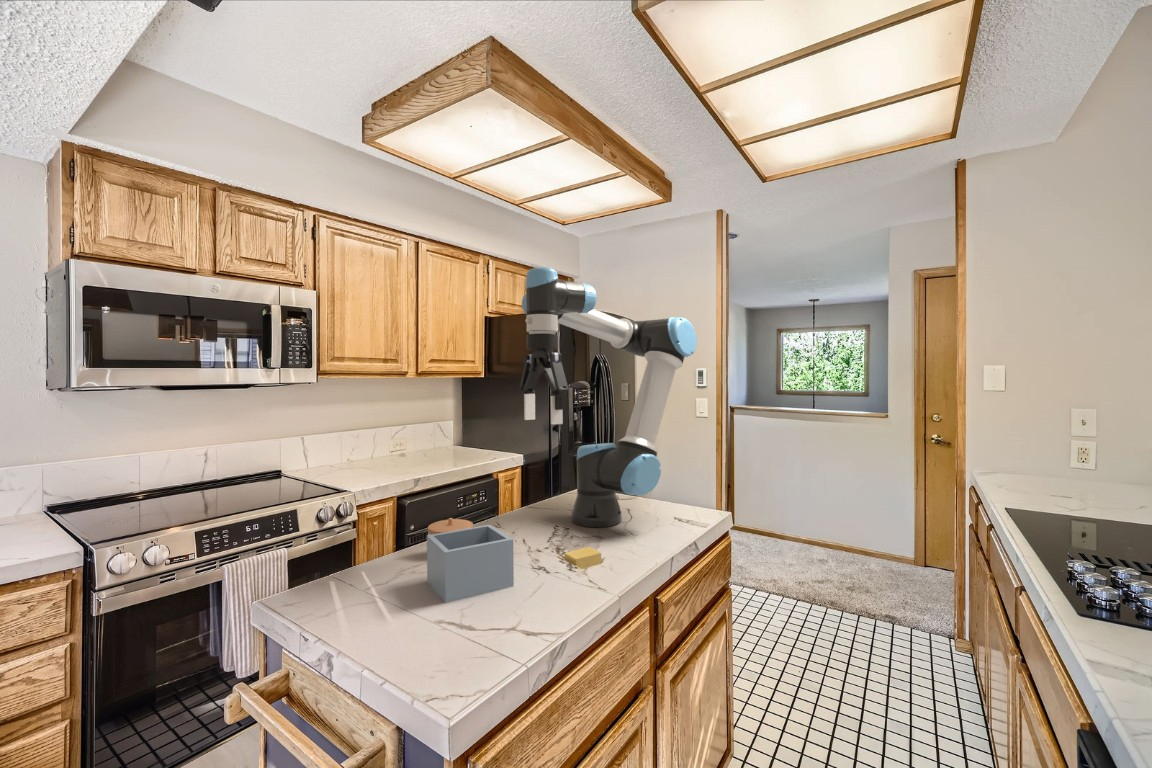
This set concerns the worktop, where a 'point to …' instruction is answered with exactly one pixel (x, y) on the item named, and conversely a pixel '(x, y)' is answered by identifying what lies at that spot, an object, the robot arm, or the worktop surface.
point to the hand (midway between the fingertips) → (542, 421)
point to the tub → (469, 562)
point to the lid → (583, 557)
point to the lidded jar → (448, 526)
